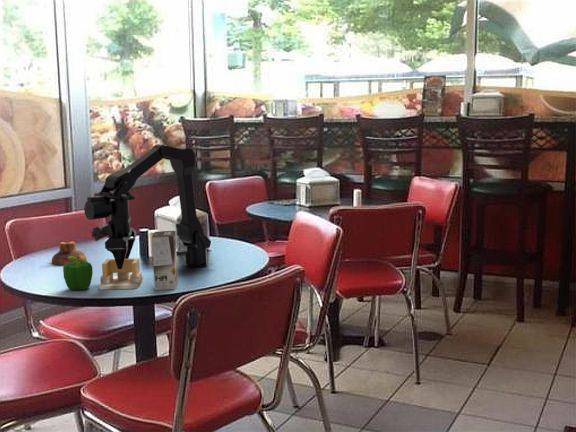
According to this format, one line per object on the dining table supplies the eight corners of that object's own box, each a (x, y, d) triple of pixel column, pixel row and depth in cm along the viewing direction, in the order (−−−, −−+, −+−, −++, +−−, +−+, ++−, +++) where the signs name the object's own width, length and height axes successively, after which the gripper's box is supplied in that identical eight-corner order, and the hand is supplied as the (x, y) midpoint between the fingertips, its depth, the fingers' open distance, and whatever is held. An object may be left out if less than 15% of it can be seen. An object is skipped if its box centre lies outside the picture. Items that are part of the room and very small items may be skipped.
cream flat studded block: (144, 278, 223) (143, 268, 222) (137, 288, 211) (137, 278, 210) (107, 279, 222) (107, 269, 222) (99, 289, 210) (98, 279, 210)
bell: (44, 265, 244) (43, 244, 242) (63, 257, 255) (61, 237, 254) (75, 266, 241) (73, 245, 240) (92, 258, 252) (91, 238, 251)
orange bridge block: (139, 270, 220) (139, 258, 219) (136, 276, 213) (135, 263, 212) (107, 271, 219) (106, 259, 219) (102, 277, 213) (101, 264, 212)
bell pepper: (96, 284, 216) (94, 252, 215) (89, 291, 208) (87, 258, 206) (69, 285, 216) (66, 253, 214) (61, 292, 208) (58, 259, 206)
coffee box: (176, 289, 209) (173, 236, 206) (154, 290, 208) (151, 236, 205) (178, 281, 218) (175, 230, 215) (157, 282, 217) (154, 231, 214)
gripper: (99, 211, 224) (103, 259, 227) (85, 221, 206) (89, 273, 209) (135, 210, 225) (138, 258, 227) (124, 220, 206) (127, 272, 209)
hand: (122, 265), depth 218 cm, fingers open, 9 cm apart
